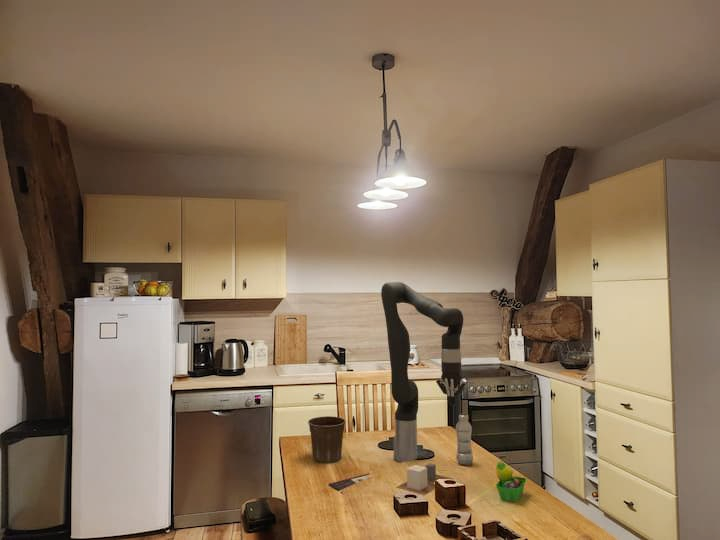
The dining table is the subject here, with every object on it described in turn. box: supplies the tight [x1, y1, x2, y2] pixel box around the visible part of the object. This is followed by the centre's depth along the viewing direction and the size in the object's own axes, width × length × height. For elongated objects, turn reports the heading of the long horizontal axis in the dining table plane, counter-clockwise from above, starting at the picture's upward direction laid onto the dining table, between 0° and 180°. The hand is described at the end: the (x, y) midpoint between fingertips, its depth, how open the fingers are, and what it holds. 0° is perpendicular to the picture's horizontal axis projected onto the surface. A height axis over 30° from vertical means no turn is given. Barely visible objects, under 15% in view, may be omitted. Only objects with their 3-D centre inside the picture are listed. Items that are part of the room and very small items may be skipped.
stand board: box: [395, 473, 454, 496], centre depth 186 cm, size 20×12×1 cm, turn 140°
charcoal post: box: [425, 462, 437, 481], centre depth 190 cm, size 3×3×5 cm
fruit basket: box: [495, 461, 527, 503], centre depth 176 cm, size 11×9×11 cm
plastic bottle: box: [455, 413, 474, 466], centre depth 210 cm, size 6×7×20 cm
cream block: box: [406, 464, 427, 491], centre depth 183 cm, size 5×5×7 cm
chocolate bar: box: [328, 473, 373, 494], centre depth 190 cm, size 9×1×18 cm
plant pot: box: [307, 415, 346, 464], centre depth 219 cm, size 16×16×16 cm
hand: (452, 405), depth 196 cm, fingers closed
